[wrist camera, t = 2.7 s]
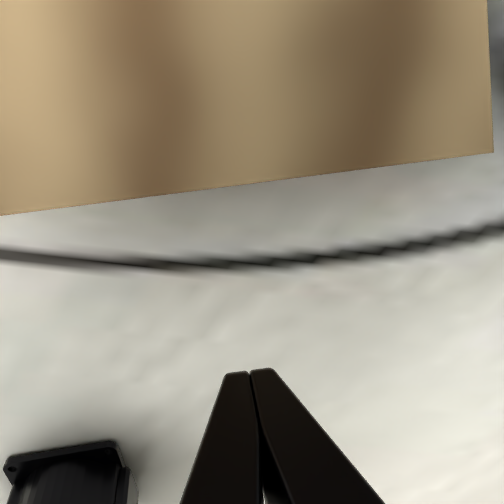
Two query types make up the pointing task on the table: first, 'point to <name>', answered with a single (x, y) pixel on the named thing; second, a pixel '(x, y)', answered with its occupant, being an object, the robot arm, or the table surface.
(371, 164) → the oak plank
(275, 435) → the robot arm
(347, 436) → the table surface
